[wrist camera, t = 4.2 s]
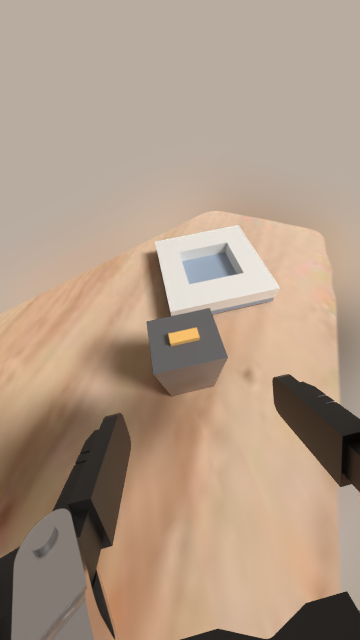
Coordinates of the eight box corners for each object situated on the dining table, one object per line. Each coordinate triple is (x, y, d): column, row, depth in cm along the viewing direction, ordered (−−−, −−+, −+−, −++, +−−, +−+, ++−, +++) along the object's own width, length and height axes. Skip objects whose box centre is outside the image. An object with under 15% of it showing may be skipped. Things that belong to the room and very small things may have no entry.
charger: (171, 396, 18) (152, 372, 10) (165, 362, 20) (145, 318, 12) (213, 386, 18) (228, 355, 10) (204, 353, 20) (210, 304, 12)
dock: (172, 322, 22) (170, 311, 20) (157, 255, 29) (155, 241, 27) (272, 301, 23) (280, 288, 21) (235, 239, 29) (238, 225, 27)
